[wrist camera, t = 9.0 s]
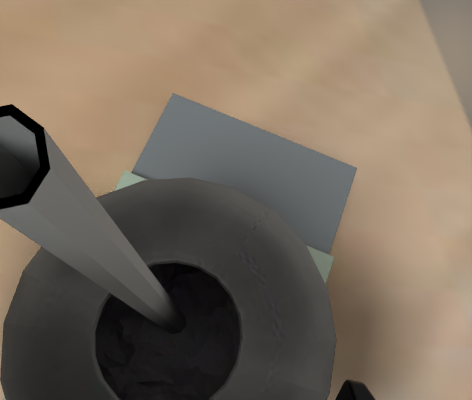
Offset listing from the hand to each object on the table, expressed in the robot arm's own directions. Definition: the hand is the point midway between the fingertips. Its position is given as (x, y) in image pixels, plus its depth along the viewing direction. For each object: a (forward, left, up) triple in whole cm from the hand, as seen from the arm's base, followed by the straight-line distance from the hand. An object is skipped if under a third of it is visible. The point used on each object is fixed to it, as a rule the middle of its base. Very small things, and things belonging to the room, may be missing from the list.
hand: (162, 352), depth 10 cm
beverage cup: (+1, 0, -11) cm, 11 cm away
